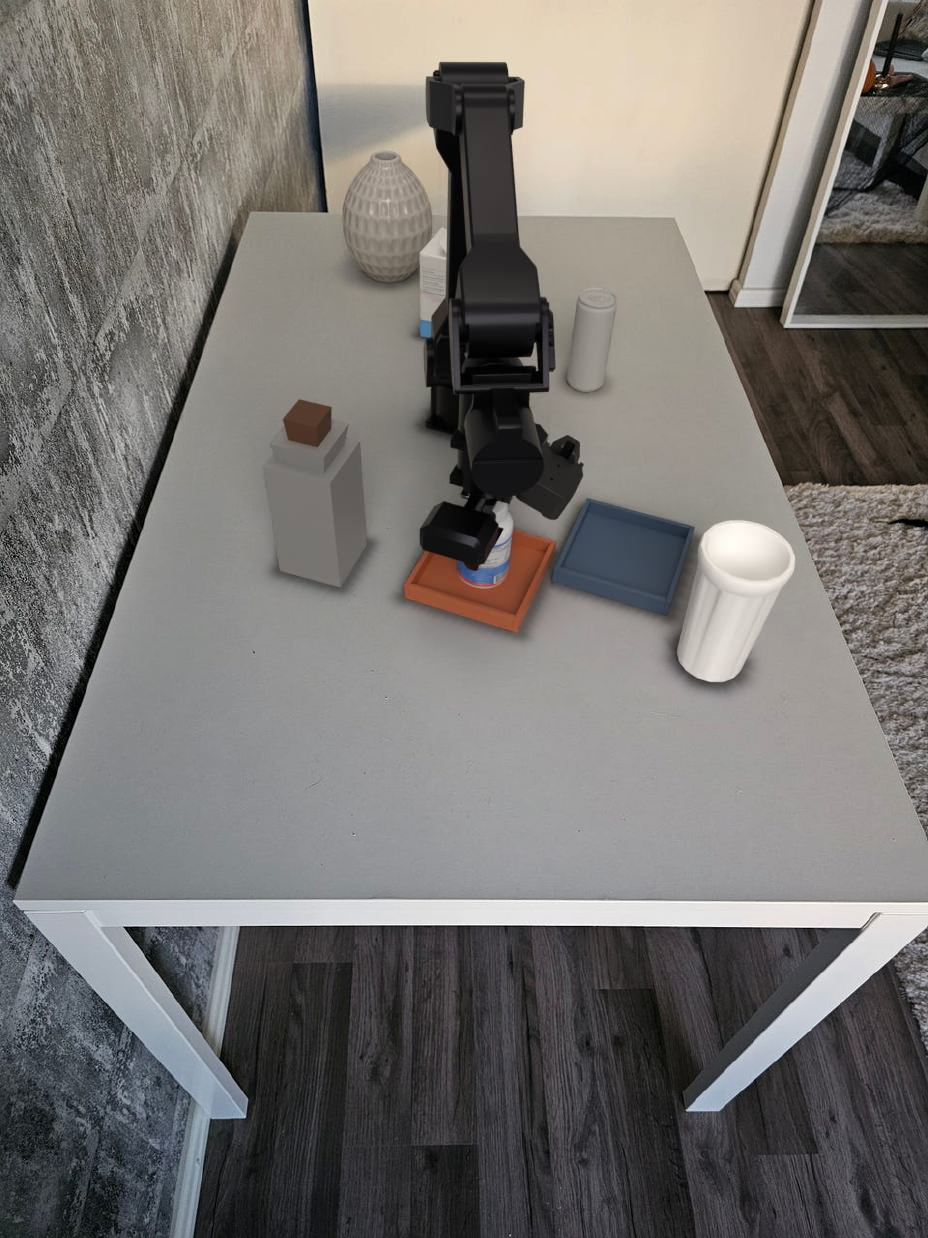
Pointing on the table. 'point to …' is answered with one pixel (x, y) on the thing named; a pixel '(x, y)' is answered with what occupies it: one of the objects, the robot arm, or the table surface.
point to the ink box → (432, 279)
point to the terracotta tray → (494, 605)
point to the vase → (387, 218)
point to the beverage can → (591, 338)
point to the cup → (732, 596)
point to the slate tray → (624, 555)
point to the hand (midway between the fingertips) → (482, 550)
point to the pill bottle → (492, 555)
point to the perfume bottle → (316, 495)
